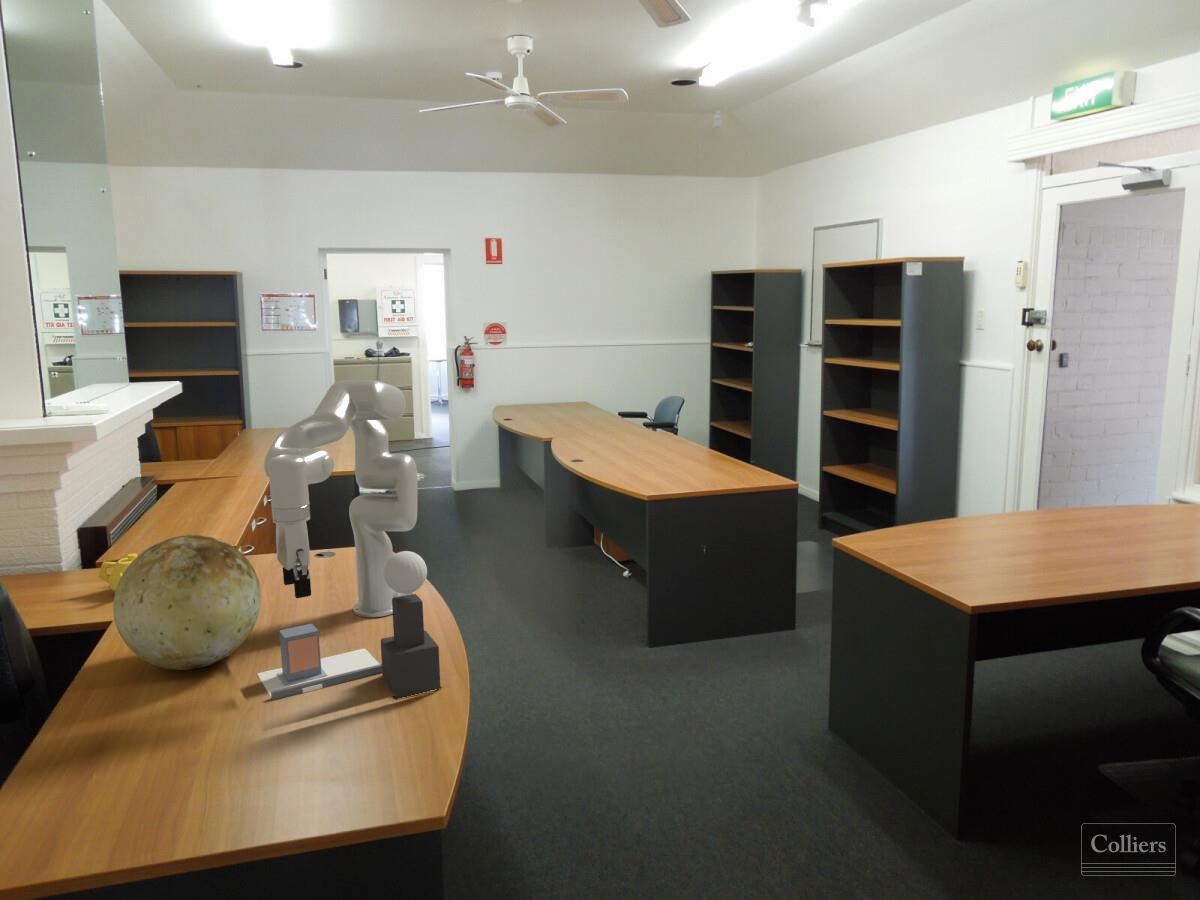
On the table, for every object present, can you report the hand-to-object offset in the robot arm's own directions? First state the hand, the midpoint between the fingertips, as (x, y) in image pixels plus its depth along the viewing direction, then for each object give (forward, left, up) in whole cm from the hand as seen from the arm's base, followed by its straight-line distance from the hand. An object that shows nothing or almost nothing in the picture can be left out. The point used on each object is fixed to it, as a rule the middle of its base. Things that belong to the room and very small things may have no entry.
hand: (297, 590), depth 181 cm
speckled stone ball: (+19, -22, -21) cm, 36 cm away
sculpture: (-18, +17, -21) cm, 32 cm away
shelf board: (-3, +2, -21) cm, 21 cm away
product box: (+1, +1, -19) cm, 19 cm away
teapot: (+26, -86, -21) cm, 92 cm away
